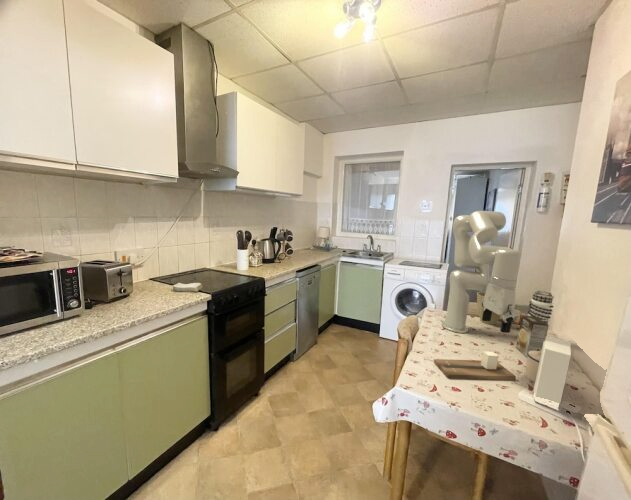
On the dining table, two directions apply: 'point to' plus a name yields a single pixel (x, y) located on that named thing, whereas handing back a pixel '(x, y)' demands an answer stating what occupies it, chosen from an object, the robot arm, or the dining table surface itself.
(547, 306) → the decorative candle
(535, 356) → the teacup with lid
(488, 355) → the fader tab
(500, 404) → the dining table surface
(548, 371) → the milk
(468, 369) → the wooden board
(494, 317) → the plant pot
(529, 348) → the coffee box
